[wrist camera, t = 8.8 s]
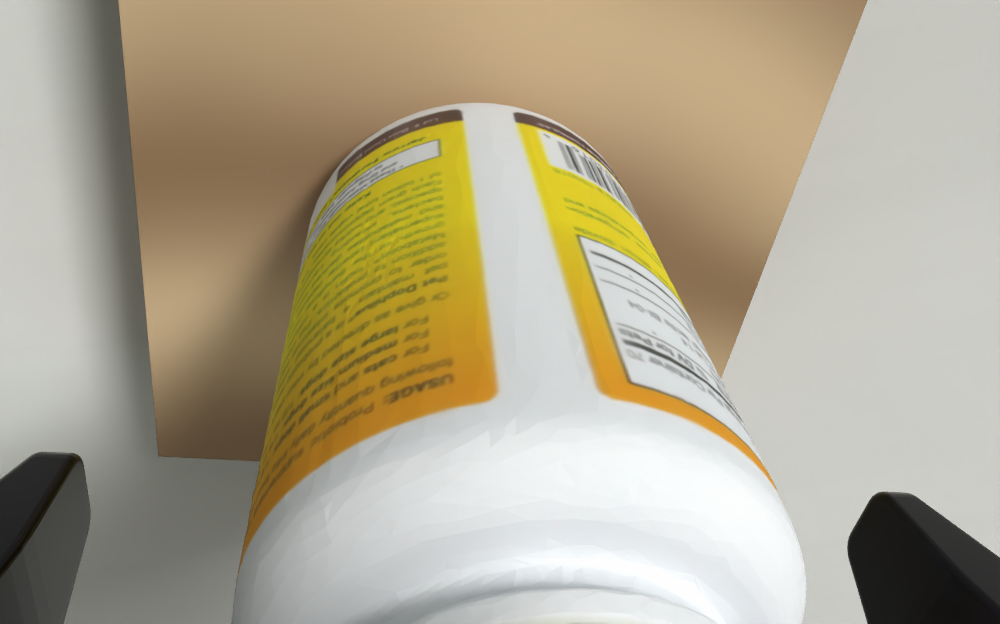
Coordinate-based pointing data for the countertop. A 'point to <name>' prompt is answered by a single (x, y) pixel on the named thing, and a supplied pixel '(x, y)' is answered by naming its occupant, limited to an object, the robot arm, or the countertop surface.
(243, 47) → the brown box
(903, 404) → the countertop surface
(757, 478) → the supplement bottle
